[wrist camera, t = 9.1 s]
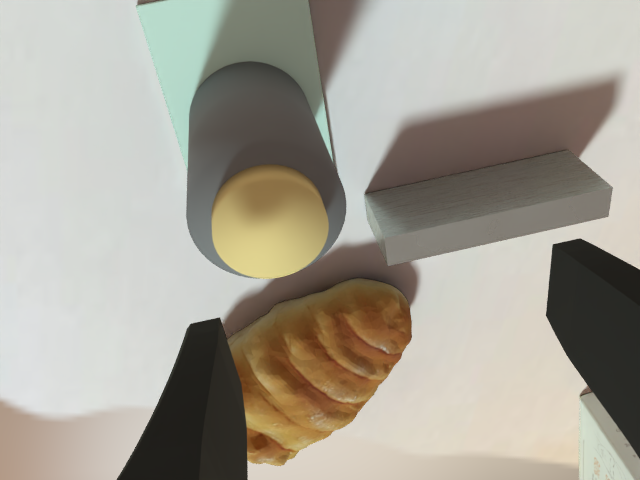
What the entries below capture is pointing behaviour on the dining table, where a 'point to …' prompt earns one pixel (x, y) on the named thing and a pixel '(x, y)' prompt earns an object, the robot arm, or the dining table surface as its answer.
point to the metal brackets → (485, 206)
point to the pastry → (316, 364)
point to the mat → (229, 48)
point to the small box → (603, 445)
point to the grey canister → (259, 174)
